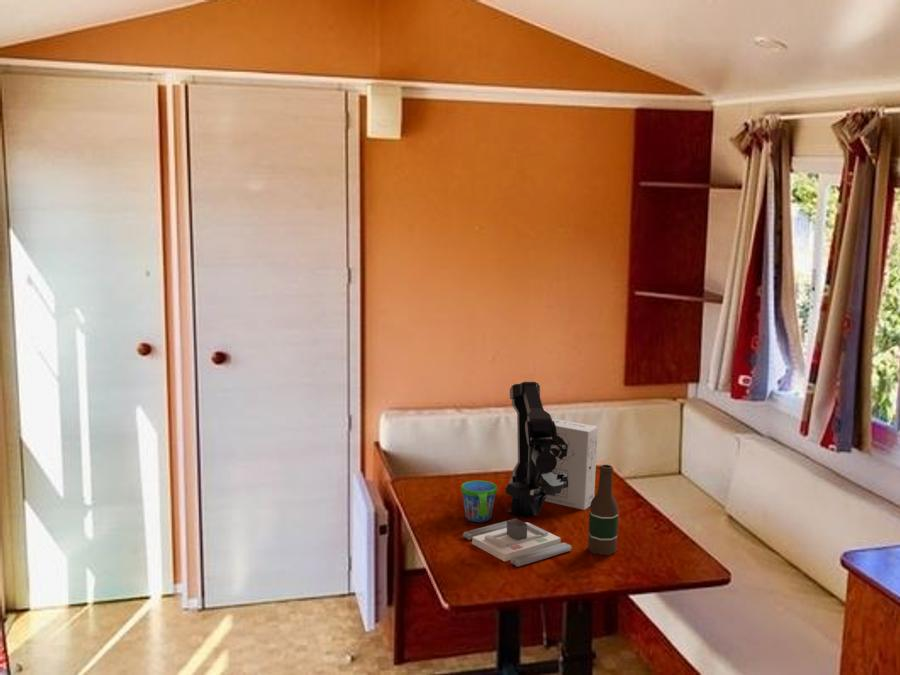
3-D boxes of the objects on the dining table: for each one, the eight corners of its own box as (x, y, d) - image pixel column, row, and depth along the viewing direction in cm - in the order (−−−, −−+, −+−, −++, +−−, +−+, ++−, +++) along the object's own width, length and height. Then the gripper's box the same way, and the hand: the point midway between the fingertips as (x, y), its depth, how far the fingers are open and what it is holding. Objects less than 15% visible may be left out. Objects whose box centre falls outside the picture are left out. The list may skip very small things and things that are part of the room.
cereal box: (594, 503, 281) (598, 426, 277) (584, 510, 275) (588, 431, 271) (532, 489, 293) (535, 415, 288) (521, 496, 286) (524, 420, 282)
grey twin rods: (515, 523, 263) (515, 517, 263) (573, 551, 244) (573, 545, 244) (461, 537, 252) (461, 531, 252) (517, 568, 233) (517, 561, 232)
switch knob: (514, 532, 250) (515, 518, 250) (526, 538, 246) (527, 524, 246) (506, 534, 249) (507, 520, 248) (518, 540, 245) (518, 526, 244)
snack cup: (459, 508, 274) (460, 477, 272) (493, 509, 274) (494, 477, 273) (461, 528, 259) (462, 494, 257) (498, 528, 259) (499, 495, 257)
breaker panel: (527, 528, 259) (527, 518, 259) (560, 544, 248) (560, 534, 248) (472, 543, 248) (472, 533, 247) (504, 561, 237) (504, 550, 236)
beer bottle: (599, 558, 240) (603, 472, 236) (581, 547, 247) (586, 463, 243) (622, 553, 244) (627, 468, 239) (604, 542, 250) (609, 460, 246)
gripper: (532, 475, 236) (530, 531, 239) (583, 463, 247) (580, 517, 250) (505, 463, 245) (503, 518, 248) (555, 452, 256) (553, 505, 259)
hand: (536, 514), depth 251 cm, fingers closed
